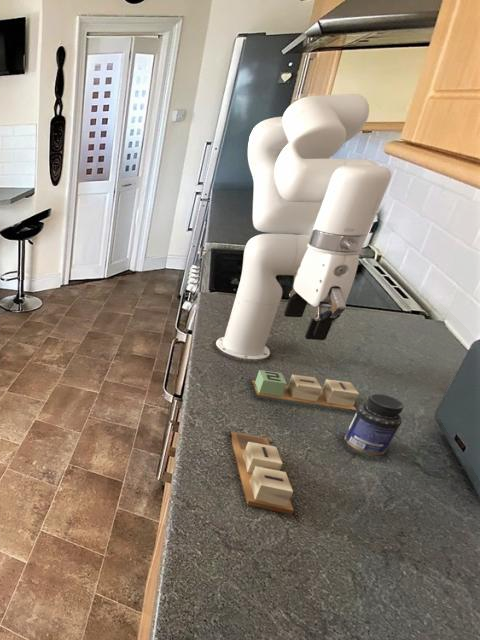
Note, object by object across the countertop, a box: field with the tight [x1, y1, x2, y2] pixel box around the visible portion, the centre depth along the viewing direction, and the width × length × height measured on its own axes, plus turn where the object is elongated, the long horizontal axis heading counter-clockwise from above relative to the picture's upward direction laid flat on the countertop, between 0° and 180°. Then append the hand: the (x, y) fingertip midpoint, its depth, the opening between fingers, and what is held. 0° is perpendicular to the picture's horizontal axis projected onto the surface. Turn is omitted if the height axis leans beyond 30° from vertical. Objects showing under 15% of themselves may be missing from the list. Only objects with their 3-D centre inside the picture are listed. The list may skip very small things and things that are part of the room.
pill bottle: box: [344, 393, 405, 456], centre depth 80 cm, size 6×6×11 cm
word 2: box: [251, 374, 360, 411], centre depth 96 cm, size 6×18×5 cm, turn 70°
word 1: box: [229, 431, 295, 516], centre depth 78 cm, size 18×6×5 cm, turn 160°
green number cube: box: [255, 369, 288, 396], centre depth 98 cm, size 4×4×4 cm
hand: (302, 327), depth 84 cm, fingers open, 9 cm apart
